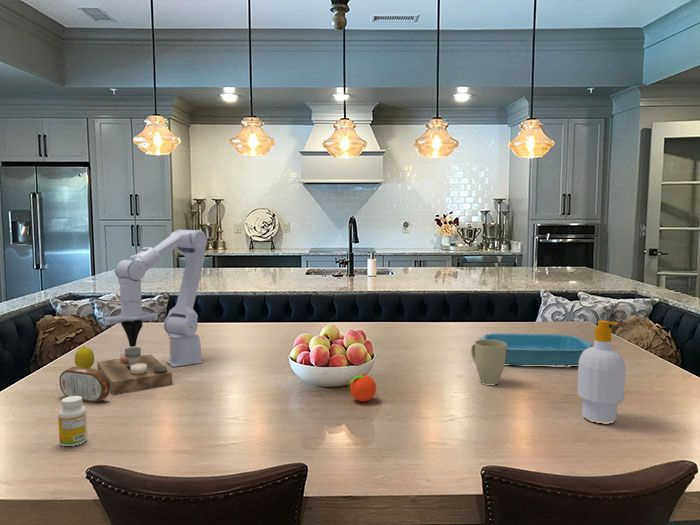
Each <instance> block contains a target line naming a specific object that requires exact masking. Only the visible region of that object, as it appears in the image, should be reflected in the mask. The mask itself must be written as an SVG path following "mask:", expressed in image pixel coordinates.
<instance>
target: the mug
mask: <svg viewBox="0 0 700 525" xmlns="http://www.w3.org/2000/svg"><path fill="white" fill-rule="evenodd" d="M506 346H507V344H506V343H505V342H502V341H498V340H487V339H486V340H479V339H478V340H475V341H474V343H473V344H472V346H471V350H470V351H471V357H472V360H473V362H474V364H475V366H476V371H477V373H478V376H479V380H480V383H481V382H482V383H484V384H497V383H498V384H499V382H500V379H501V378H502V377H501V376H502V373H503V371H504V369H505V365H504V364H505V356H506ZM482 383H481V384H482ZM484 384H483V385H484Z"/></svg>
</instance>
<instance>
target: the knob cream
mask: <svg viewBox="0 0 700 525" xmlns="http://www.w3.org/2000/svg"><path fill="white" fill-rule="evenodd" d="M130 370H131V374H134V375H140V374H143V373H146V372H147V364H145V363H136V364H132V365H131V366H130Z"/></svg>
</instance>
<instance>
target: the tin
mask: <svg viewBox="0 0 700 525" xmlns="http://www.w3.org/2000/svg"><path fill="white" fill-rule="evenodd" d="M59 388H60V391H61V393H62V394H63V395H64V396H65V398H66V397H70V396H81V397H82V402H88V403H97V402H100V401H102V400H106V399H107V397H108V396H109V394H111V393H110V392H111V391H110V383H109V380H108V378H107V376H106V375H105V374H104V373H103V372H101V371H99V370H98V369H94V368H89V369H88V368H81V367H77V366H71V367H70V368H68V369H66V370H63V371H62V372H61V374H60V376H59Z"/></svg>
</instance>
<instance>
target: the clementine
mask: <svg viewBox="0 0 700 525" xmlns="http://www.w3.org/2000/svg"><path fill="white" fill-rule="evenodd" d="M347 387H350V388H349V389H350V390H349V391H350V394H351V395H352V397H353V398H354V399H355V400H356V401H359V402H365V403H366V402H368V401H370V400H372V399H373V398H374V396H375V394H376V391H377V385H376V383H375V380H374V379H373V378H372V377H370V376H369V375H368V374H359V375H356V376H354V377H353V378H352V379H350V380H349V382H348V386H347Z"/></svg>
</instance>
